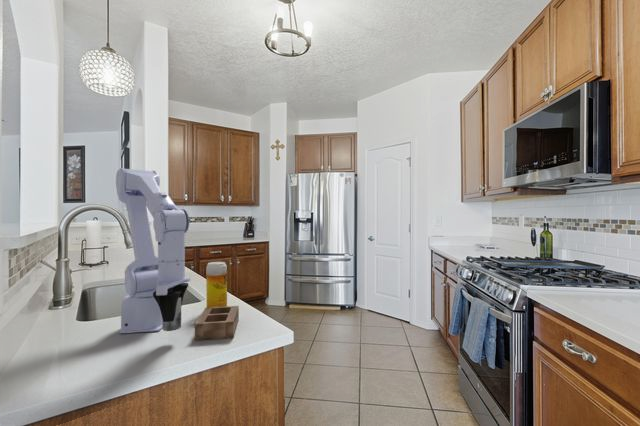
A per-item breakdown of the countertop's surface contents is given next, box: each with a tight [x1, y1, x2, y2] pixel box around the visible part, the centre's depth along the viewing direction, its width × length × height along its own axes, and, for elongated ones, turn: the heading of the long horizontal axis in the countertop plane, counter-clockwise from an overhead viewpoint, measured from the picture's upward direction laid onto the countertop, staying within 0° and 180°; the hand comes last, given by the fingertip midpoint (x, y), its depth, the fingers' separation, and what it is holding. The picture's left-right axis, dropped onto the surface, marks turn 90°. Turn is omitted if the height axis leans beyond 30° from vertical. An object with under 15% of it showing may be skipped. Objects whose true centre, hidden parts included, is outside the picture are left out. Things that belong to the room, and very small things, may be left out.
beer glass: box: [205, 261, 228, 307], centre depth 96 cm, size 6×6×15 cm
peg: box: [161, 296, 182, 332], centre depth 72 cm, size 4×4×7 cm
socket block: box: [194, 305, 240, 342], centre depth 81 cm, size 9×13×4 cm
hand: (171, 317), depth 72 cm, fingers closed on peg, 4 cm apart
